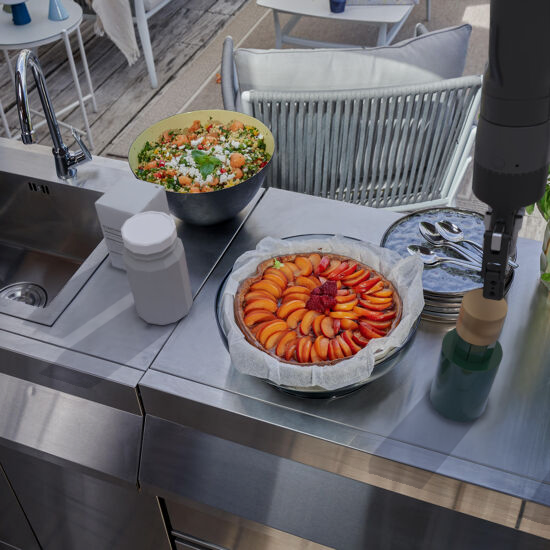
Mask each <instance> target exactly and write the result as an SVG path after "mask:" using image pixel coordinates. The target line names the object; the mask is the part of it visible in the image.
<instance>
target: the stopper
mask: <svg viewBox="0 0 550 550" xmlns="http://www.w3.org/2000/svg"><path fill="white" fill-rule="evenodd" d="M482 294H483V288H475V289H471V290H470V291H467V292H466V293H465V294H464V295H463V296H462V299H461V303H460V308H459V310H458V315H457V319H456V323H455V328H456V330H457V332H458V334H459V336H460V337H461V338H462V339H463V340H465V341H466V342H468V343H471V344H473V345H478V346H486V345H490V344H493V343H494V342H496V341H497V340H498V341H499V338H500V337H501V332H502V330H503V327H504V323H505V321H506V317H507V315H508V310H509V305H508V303H507V301H506V299H505V298H504V297H503V299H502V300H500V301H497V300H491V299H485V298H484V297H483V295H482Z"/></svg>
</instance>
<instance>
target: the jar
mask: <svg viewBox="0 0 550 550" xmlns="http://www.w3.org/2000/svg"><path fill="white" fill-rule="evenodd" d="M121 233H122V238H123V242H124V246H125V248H124V250H123V251H122V254H123V259H124V264H125V267H126V270H125V272H126V275H127V279H128V282H129V287H130V291H131V293H132V298H133V302H134V305H135V309H136V313H137V316H138V317H140V318H141V319H142V320H144V321H145V322H146V323H148V324H153V325H157V326H158V325H160V326H165V325H170V324H174V323H177V322H178V321H180V320H181V319H182V318H184V317H185V316H187V314H189V313H190V310H191V308H192V305H193V303H194V299H193V293H192V287H191V281H190V276H189V270H188V264H187V258H186V252H185V248H184V244H183V242H182V239H181V238H180V237H178V232H177V226H176V223H175V220H174V217H172V216H171V215H170V216H169V215H167V214H166V213H164V212H156V211H148V212H143V213H138V214H136V215H134V216H133V217H131V218H129V219H128V220H126V221H125V223H124V225H123V226H122V228H121Z"/></svg>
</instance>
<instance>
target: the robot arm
mask: <svg viewBox="0 0 550 550" xmlns="http://www.w3.org/2000/svg"><path fill="white" fill-rule="evenodd" d="M488 28H489V29H488V51H487V60H486V62H485V65H484V69H483V73H482V79H481V89H480V93H481V94H480V101H479V102H480V104H479V116H478V120H477V125H476V129H475V138H474V151H473V152H474V153H473V165H472V179H471V191H472V194H473V196H474V197H475V198H476V199H477V200H479V202H482V203H483V204H485V205H487V209H488V210H485V211H484V212H485V213H484V218H483V225H484V232H483V236H482V237H483V238H482V245H481V250H482V258H481V266H480V270H479V276H480V277H479V278H480V279H481V280H483V286H482V289H483V294H482V295H483V297H484V298H485V299H491V300H497V301H500V300H502V299H503V298H504V293H505V286H506V285H505V284H506V280H507V275H509V263H510V258H512V257H513V256H514V255H515V254H516V250H517V243H518V238H519V233H520V231H521V230H522V229H523V223H524V217H525V215H526V211H527V207H530V206H532V205H535V204H537V203H538V202H540V201H541V200H542V199H543V198H544V196H545V193H546V191H547V186H548V185H547V184H548V179H549V178H548V177H549V172H550V0H489V27H488Z"/></svg>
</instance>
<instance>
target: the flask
mask: <svg viewBox="0 0 550 550" xmlns="http://www.w3.org/2000/svg"><path fill="white" fill-rule="evenodd" d="M503 351H504V350H503V347H502V344H501V342H500V341H499V339H498V340H497V341H496V342H494V343H493V344H490V345H486V346H478V345H473V344H471V343H468V342H466V341H465V340H463V339H462V338H461V337H460V336H459V334H458V332H457V330H456V327H454V328H452V329H450V330H449V331H448V332H446V333H445V335H444V337H442V342H441V346H440V349H439V354H438V357H437V362H436V366H435V371H434V374H433V378H432V383H431V388H430V392H429V399H430V403H431V405H432V407H433V408H434V410H435V411H436V412H437V413H438V414H439V415H440V416H442V417H443V418H446V419H447V420H449V421H453V422H458V423H468V422H472V421H475V420H477V419H478V418H480V417H481V416H482V415H483V413H484V411H485V409H486V406H487V403H488V400H489V398H490V394H491V392H492V389H493V386H494V384H495V381H496V378H497V374H498V372H499V369H500V366H501V364H502V360H503V356H504V352H503Z"/></svg>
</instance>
